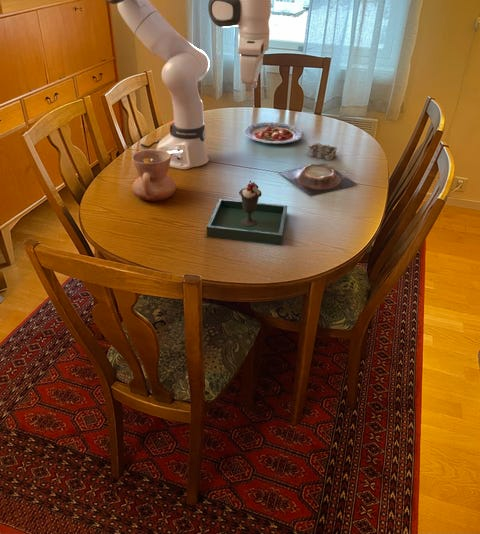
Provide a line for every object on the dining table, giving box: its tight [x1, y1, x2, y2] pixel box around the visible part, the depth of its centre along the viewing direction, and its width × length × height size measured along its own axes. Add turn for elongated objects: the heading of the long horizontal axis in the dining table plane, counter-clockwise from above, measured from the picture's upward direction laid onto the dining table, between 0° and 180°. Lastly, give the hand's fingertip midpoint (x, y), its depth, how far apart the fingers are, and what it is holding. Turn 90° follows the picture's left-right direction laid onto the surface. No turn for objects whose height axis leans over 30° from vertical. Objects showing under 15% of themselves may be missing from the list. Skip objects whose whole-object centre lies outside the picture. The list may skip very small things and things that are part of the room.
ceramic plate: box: [243, 121, 304, 145], centre depth 200 cm, size 26×26×3 cm
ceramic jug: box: [131, 148, 177, 202], centre depth 149 cm, size 18×14×14 cm
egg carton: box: [308, 142, 338, 161], centre depth 184 cm, size 11×8×4 cm
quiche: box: [280, 163, 357, 196], centre depth 166 cm, size 21×20×4 cm
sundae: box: [238, 180, 263, 227], centre depth 135 cm, size 7×7×15 cm
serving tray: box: [206, 198, 288, 246], centre depth 139 cm, size 22×18×3 cm
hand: (251, 92), depth 140 cm, fingers open, 8 cm apart
